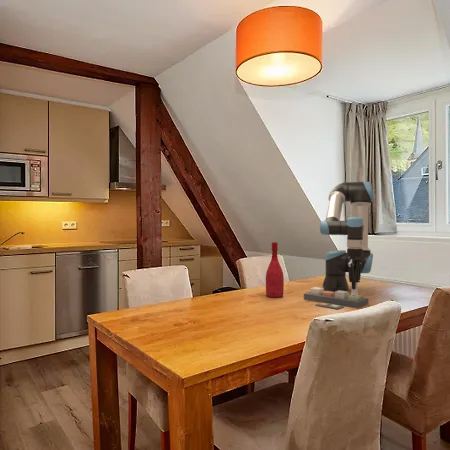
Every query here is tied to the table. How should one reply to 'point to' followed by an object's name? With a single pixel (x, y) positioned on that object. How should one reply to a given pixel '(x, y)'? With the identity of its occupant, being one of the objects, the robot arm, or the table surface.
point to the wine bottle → (274, 276)
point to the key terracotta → (328, 293)
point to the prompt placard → (329, 306)
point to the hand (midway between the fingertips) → (354, 295)
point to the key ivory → (317, 290)
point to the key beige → (341, 294)
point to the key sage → (355, 297)
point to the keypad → (336, 300)
